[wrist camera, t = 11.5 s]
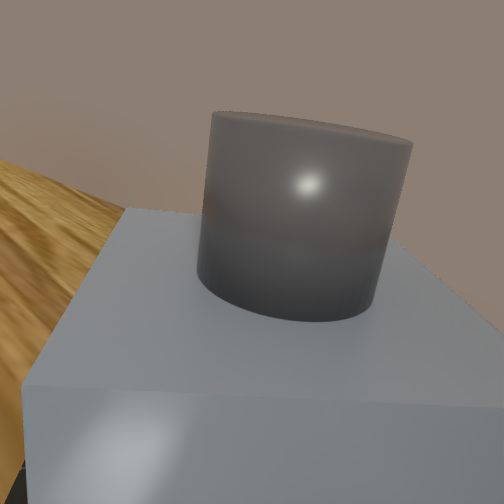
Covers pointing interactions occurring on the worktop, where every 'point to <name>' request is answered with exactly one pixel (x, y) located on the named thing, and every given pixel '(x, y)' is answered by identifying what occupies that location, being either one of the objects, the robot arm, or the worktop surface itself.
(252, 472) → the grey-blue square bottle
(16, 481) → the robot arm
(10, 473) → the worktop surface
